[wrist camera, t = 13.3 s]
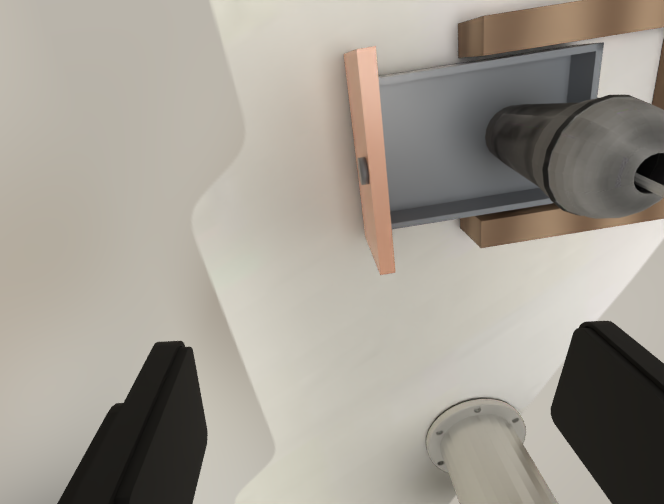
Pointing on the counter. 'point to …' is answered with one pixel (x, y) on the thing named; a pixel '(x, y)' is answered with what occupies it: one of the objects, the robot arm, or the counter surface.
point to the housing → (542, 30)
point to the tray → (449, 135)
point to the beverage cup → (586, 152)
